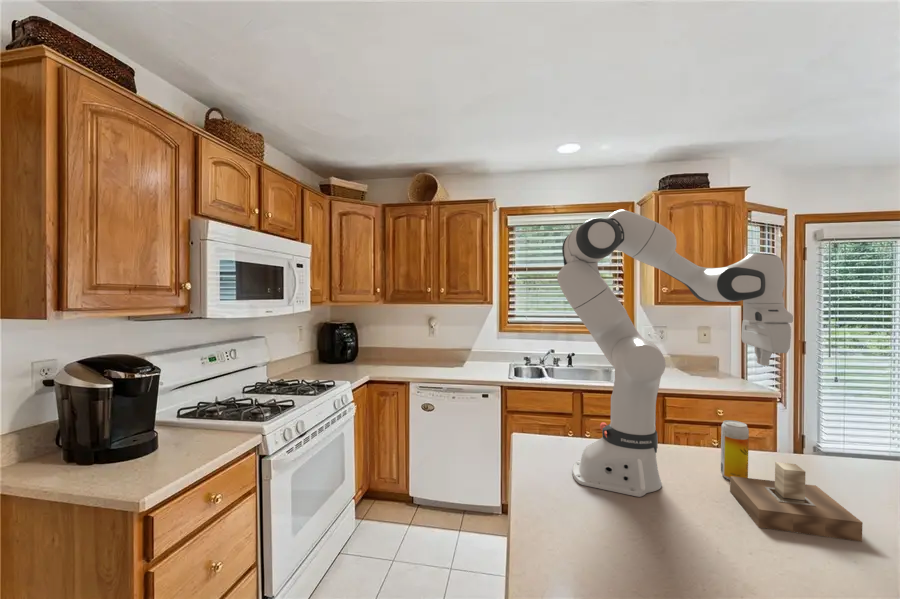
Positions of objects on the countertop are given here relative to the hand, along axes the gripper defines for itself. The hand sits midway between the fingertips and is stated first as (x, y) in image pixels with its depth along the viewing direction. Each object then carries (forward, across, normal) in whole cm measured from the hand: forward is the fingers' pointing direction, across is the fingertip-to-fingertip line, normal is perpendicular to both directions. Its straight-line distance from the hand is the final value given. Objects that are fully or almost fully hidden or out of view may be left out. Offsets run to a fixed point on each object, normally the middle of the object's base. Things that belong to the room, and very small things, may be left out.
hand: (762, 364), depth 109 cm
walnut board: (+31, +19, -2) cm, 36 cm away
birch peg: (+31, +19, -2) cm, 36 cm away
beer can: (+31, +2, -7) cm, 32 cm away
